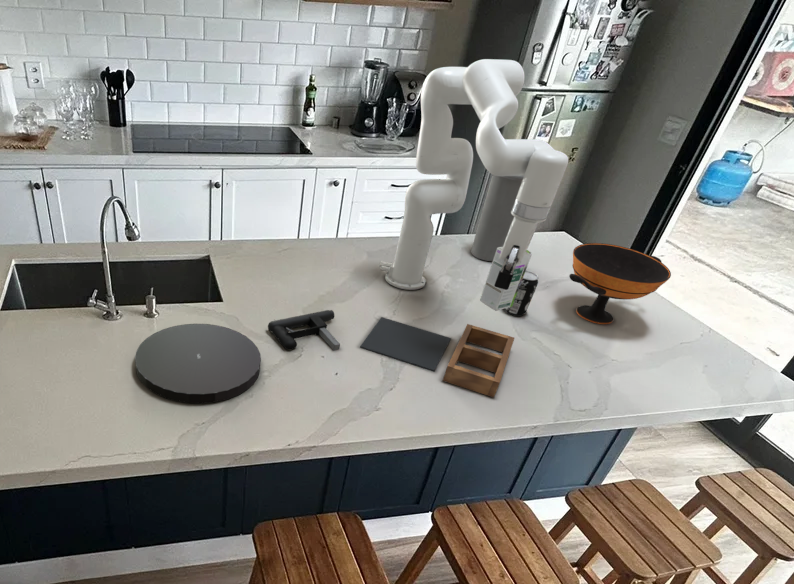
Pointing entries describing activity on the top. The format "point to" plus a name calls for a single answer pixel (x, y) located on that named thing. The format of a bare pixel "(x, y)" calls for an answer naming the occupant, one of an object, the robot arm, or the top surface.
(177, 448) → the top surface
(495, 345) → the rack
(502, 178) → the canister
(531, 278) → the beverage can
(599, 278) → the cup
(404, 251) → the robot arm
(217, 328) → the disc
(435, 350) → the mat
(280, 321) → the door handle
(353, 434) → the top surface
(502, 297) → the syrup box
